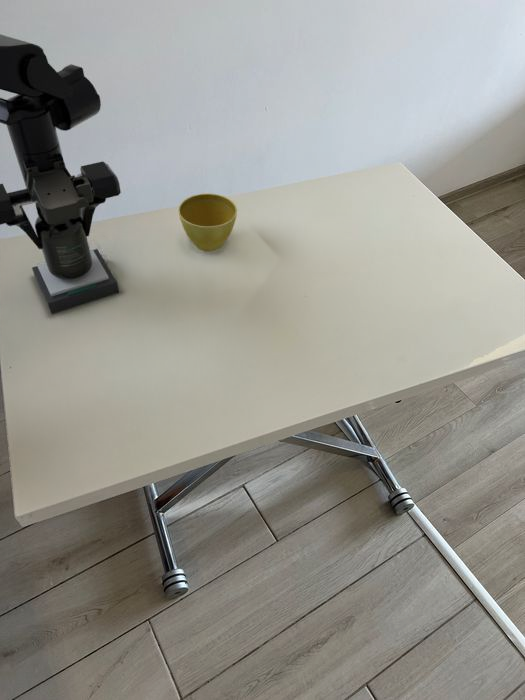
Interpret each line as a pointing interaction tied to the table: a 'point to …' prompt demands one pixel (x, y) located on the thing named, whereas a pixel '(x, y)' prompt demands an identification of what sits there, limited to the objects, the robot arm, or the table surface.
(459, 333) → the table surface
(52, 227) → the supplement bottle
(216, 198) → the flower pot
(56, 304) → the kitchen scale
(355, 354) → the table surface
